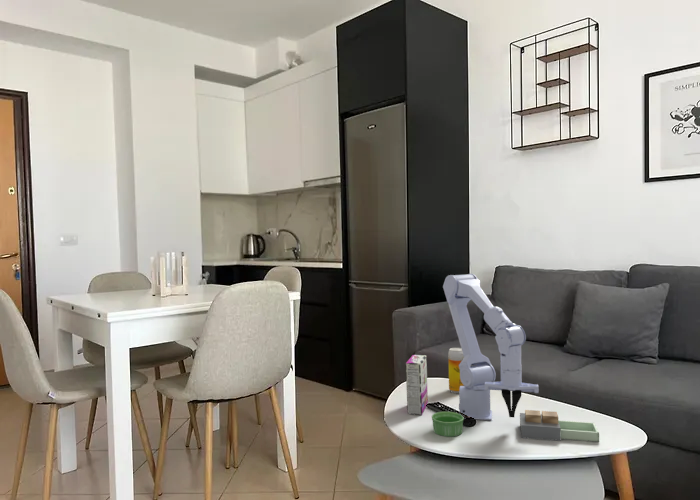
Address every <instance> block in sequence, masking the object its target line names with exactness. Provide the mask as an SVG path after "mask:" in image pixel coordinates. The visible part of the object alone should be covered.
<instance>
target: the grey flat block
mask: <svg viewBox="0 0 700 500" xmlns="http://www.w3.org/2000/svg"><path fill="white" fill-rule="evenodd" d="M540 414H541V423H538V422H526V419H525V412H520V413H519V426H520V434H521V435H520V436H521V438H522V439H531V440H545V441H546V440H547V441H561V440H562V439H561V428H560V425H559V422H558V424H552V423H543V421H542V413H540Z"/></svg>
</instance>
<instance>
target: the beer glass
mask: <svg viewBox="0 0 700 500" xmlns="http://www.w3.org/2000/svg"><path fill="white" fill-rule="evenodd" d="M447 353H448V389H449V391H450V392H451V393H453V394H459V390H460V386H464V385H463V383H462V382H461V379H460V368H459V364H460V363H461V361H462V360H463V359H464V355H463V352H462V349H461V347H451V348H449V349H448V351H447Z"/></svg>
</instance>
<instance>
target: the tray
mask: <svg viewBox="0 0 700 500" xmlns="http://www.w3.org/2000/svg"><path fill="white" fill-rule="evenodd" d="M558 422H559V425H560V428H561V440H569V441H570V440H571V441H582V442H595V443H600V431H599V430H598V427H597V425H596V424H595V422H588V421H587V422H586V421H573V420H572V421H571V420H559V419H558Z"/></svg>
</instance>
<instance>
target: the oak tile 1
mask: <svg viewBox="0 0 700 500" xmlns="http://www.w3.org/2000/svg"><path fill="white" fill-rule="evenodd" d="M524 413H525V419H526V422H538V423H541V414H542V413H541V411H540V410H532V409H525V410H524Z"/></svg>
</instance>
